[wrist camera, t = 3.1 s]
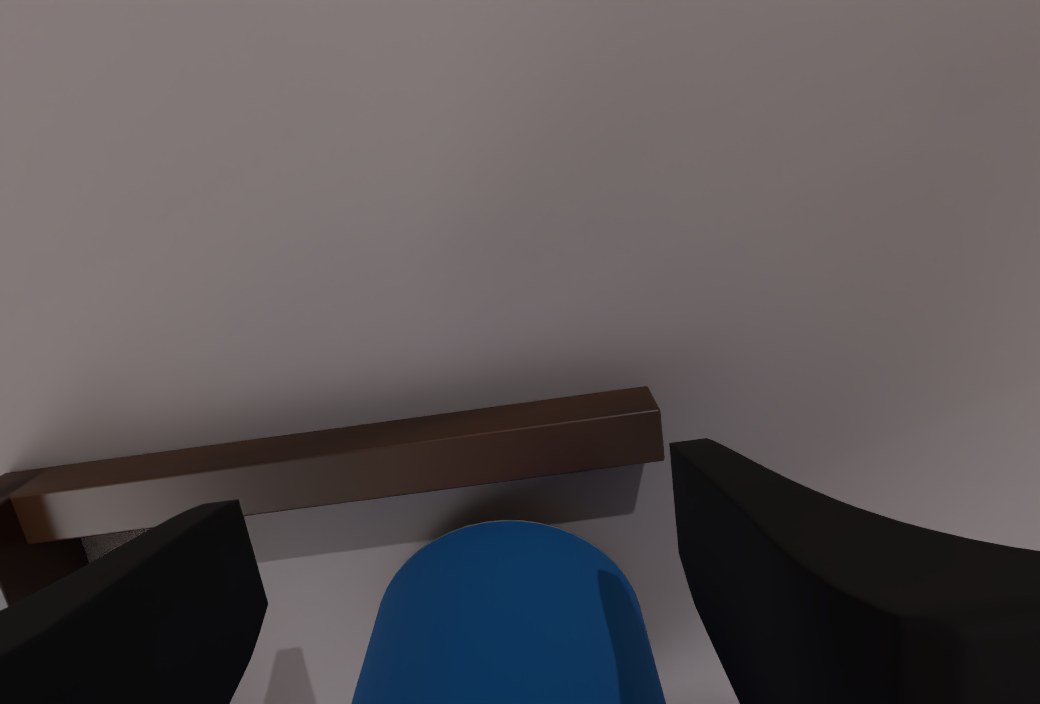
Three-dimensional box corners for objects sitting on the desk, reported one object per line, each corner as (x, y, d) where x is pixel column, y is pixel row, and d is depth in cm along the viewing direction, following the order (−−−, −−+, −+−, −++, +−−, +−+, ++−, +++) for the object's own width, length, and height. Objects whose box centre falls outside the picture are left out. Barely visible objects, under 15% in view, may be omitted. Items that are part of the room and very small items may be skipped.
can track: (647, 385, 16) (670, 427, 14) (685, 774, 19) (708, 863, 17) (4, 472, 17) (-82, 528, 14) (145, 837, 20) (94, 932, 18)
